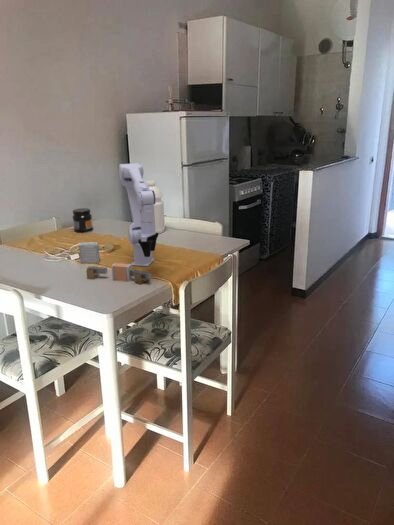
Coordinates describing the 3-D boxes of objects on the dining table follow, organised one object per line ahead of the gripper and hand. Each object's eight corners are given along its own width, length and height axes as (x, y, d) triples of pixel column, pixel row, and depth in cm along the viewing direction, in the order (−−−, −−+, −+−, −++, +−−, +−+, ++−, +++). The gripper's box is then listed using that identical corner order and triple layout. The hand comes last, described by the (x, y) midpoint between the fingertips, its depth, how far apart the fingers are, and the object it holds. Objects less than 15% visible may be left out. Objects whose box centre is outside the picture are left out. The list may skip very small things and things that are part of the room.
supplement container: (97, 229, 245) (95, 209, 241) (83, 234, 237) (81, 212, 232) (84, 227, 250) (81, 207, 246) (70, 231, 242) (67, 210, 238)
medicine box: (100, 259, 195) (98, 241, 192) (98, 263, 191) (96, 244, 188) (82, 260, 195) (80, 242, 192) (80, 263, 190) (78, 245, 187)
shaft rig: (91, 274, 178) (90, 265, 176) (155, 278, 172) (154, 269, 170) (83, 280, 171) (82, 271, 170) (149, 285, 165) (149, 275, 164)
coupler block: (116, 276, 174) (114, 263, 172) (132, 278, 173) (131, 264, 171) (112, 280, 171) (111, 266, 169) (129, 281, 170) (127, 267, 168)
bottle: (135, 234, 234) (131, 182, 224) (145, 227, 246) (142, 178, 237) (159, 235, 230) (156, 183, 220) (168, 229, 242) (166, 179, 233)
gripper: (142, 216, 176) (145, 247, 181) (132, 225, 163) (135, 259, 167) (159, 216, 175) (161, 248, 180) (150, 225, 162) (152, 259, 166)
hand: (149, 253), depth 173 cm, fingers open, 7 cm apart
